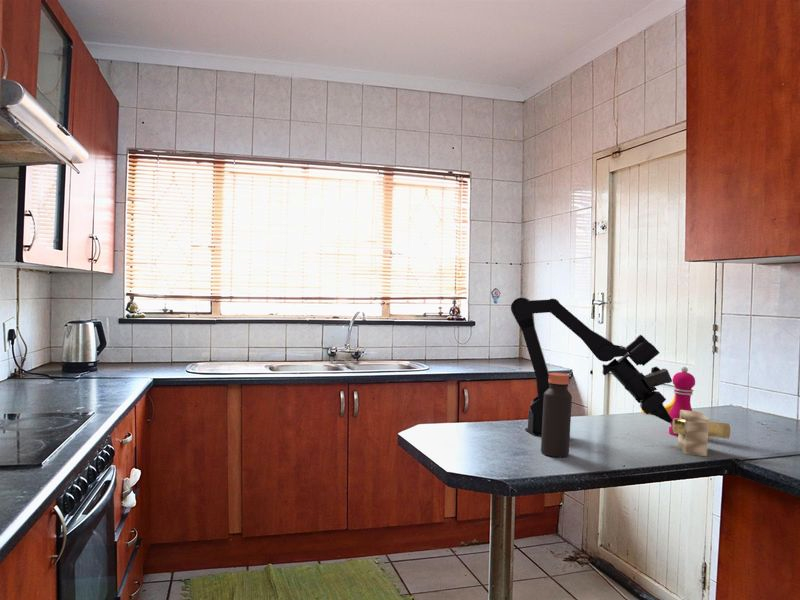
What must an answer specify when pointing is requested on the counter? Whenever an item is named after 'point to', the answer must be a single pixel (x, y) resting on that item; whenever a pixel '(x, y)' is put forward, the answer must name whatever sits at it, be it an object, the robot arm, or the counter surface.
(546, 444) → the bottle
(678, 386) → the pepper mill
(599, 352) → the robot arm
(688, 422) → the beige lumpy block
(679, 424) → the tan wooden bar
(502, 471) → the counter surface
